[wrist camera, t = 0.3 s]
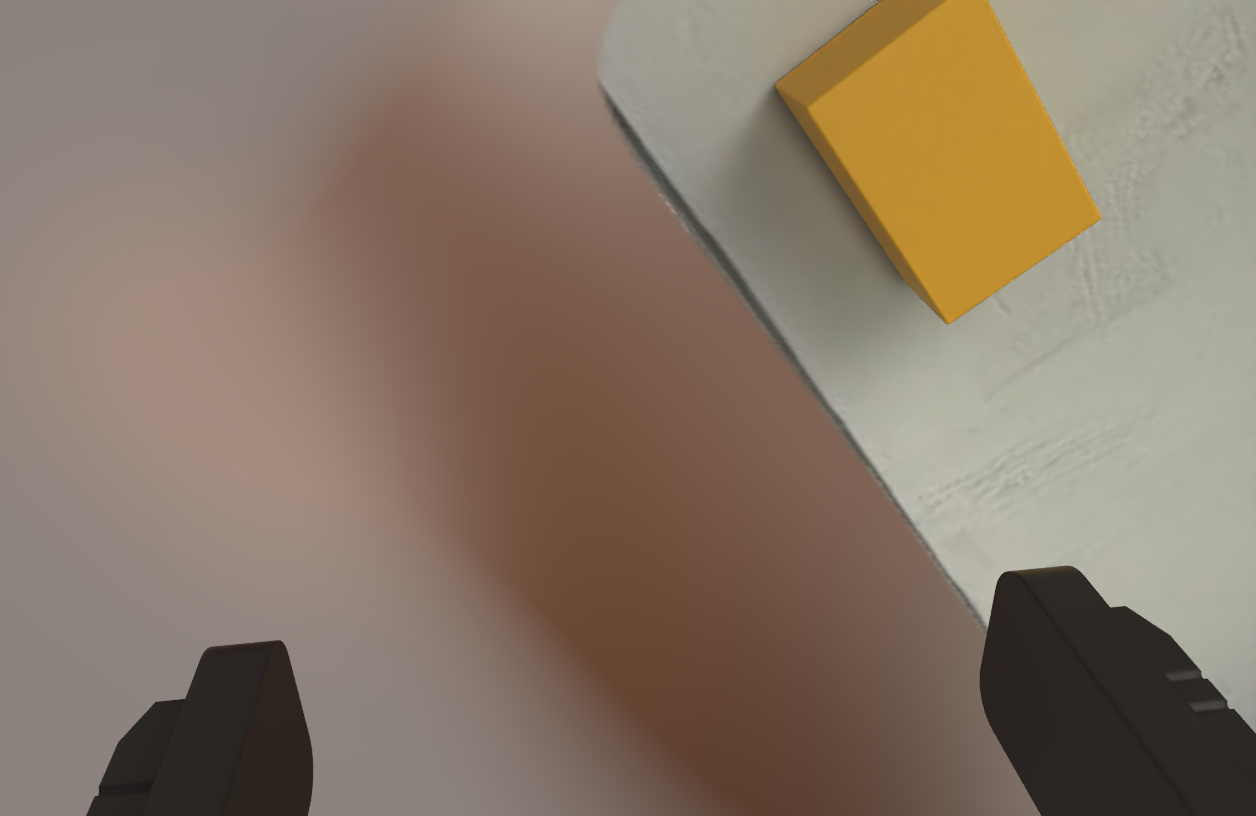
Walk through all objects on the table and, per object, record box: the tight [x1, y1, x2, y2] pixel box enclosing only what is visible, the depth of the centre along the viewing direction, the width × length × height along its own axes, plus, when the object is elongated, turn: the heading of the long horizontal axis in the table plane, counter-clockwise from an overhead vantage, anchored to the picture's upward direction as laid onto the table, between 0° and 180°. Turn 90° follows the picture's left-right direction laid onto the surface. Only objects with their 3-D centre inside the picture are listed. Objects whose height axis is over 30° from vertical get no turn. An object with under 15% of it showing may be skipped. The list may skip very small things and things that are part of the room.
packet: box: [775, 0, 1101, 324], centre depth 25 cm, size 7×4×3 cm, turn 37°
